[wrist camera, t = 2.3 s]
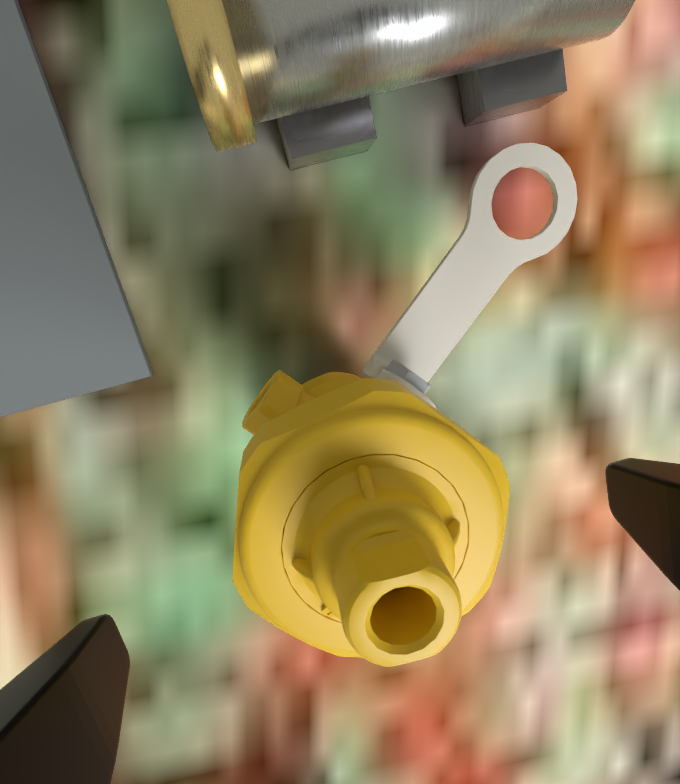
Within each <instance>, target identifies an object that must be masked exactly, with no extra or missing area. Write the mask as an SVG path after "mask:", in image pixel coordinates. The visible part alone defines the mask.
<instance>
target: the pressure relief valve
mask: <svg viewBox="0 0 680 784" xmlns="http://www.w3.org/2000/svg"><path fill="white" fill-rule="evenodd" d="M519 167H524V168H532V169H534V170H536V171H537V172H539V173H541V174H542V175H543V176H544V177H545V178H546V180H547V181H548V183H549V184H550V186H551V190H552V194H553V197H554V199H553V211H552V213H551V216H550V218H549V220H548V223H547V224H546V225H545V227H544V228H543V229H542V230H541V231H540V232H539V233H538V234H536V235H534V236H533V237H531V238H529V239H525V240H517V239H514V238H511V237H508V236H507V235H505V234H504V233H503V232H502V231H501V230H500V229H498V227H497V225H496V223H495V221H494V219H493V216H492V207H491V202H492V197H493V193H494V189H495V187H496V186H497V184H498V183H499V181H500V179H501V178H502V177H503V176H504V175H505V174H507V173H508V172H509V171H510V170H512V169H516V168H519ZM576 204H577V191H576V182H575V180H574V177H573V174H572V172H571V169H570V167H569V166H568V165H567V163H566V162H565V161H564V159H563V158H562V157H561V155H559V154H558V153H556V152H555V151H553V150H552V149H550V148H549V147H547V146H543V145H539V144H536V143H522V144H516V145H513V146H511V147H508V148H506V149H503V150H501V151H499V152H498V153H497V154H496V155H494V156H493V157H492V158H490V159H489V160H488V161H487V162H486V163H485V164H484V166H483V167H482V168H481V170H480V171H479V172H478V174H477V175H476V177H475V180H474V183H473V185H472V188H471V190H470V196H469V204H468V214H467V220H466V223H465V227H464V229H463V231H462V233H461V234H460V236H459V238H458V239H457V241H456V242H455V243H454V245H453V246H452V247H451V249H450V250H449V251H448V253H447V254H446V256H445V257H444V258H443V260H442V261H441V262H440V264H439V265H438V266H437V268H436V269H435V271H434V272H433V273H432V275H431V276H430V277H429V279H428V280H427V282H426V283H425V284H424V286H423V287H422V288H421V290H420V291H419V292H418V294H417V295H416V297H415V298H414V299H413V301H412V302H411V303H410V305H409V306H408V307H407V309H406V310H405V312H404V313H403V314H402V316H401V317H400V318H399V320H398V321H397V322H396V324H395V325H394V327H393V328H392V329H391V331H390V332H389V333H388V335H387V336H386V338H385V339H384V340H383V342H382V343H381V344H380V346H379V347H378V348H377V350H376V351H375V353H374V354H373V355H372V357H371V358H370V359H369V361H368V362H367V363H366V365H365V367H364V369H363V372H364V373H365V374H366V375H368V376H371V377H373V378H362V379H361V378H359V377H358V376H356V375H355V374H350V373H345V372H328V373H325V374H323V375H321V376H319V377H316V378H313V379H311V380H309V381H307V382H306V383H303V384H300V383H299V382H297V381H296V380H294V379H293V378H291V377H290V376H288V375H287V374H285V373H284V372H282V371H281V370H278V371H277V372H275V373H274V374H273V375H272V377H271V378H270V379H269V380H268V381H267V383H266V384H265V385H264V387H263V388H262V389H261V391H260V392H259V394H258V395H257V397H256V398H255V400H254V401H253V403H252V405H251V406H250V408H249V410H248V411H247V413H246V415H245V417H244V420H243V422H242V424H243V428H244V429H246V430H247V431H249V432H251V433H252V434H254V436H253V437H252V439H251V440H250V442H249V443H248V445H247V447H246V448H245V450H244V452H243V457H242V463H241V468H240V475H239V488H238V502H237V516H236V531H235V547H234V564H233V583H234V585H235V586H236V588H237V590H238V592H239V593H240V595H241V597H242V599H243V600H244V602H245V604H246V605H247V607H248V608H249V609H250V610H252V611H253V612H255V613H256V614H258V615H259V616H261V617H262V618H264V619H265V620H267V621H268V622H270V623H271V624H273V625H274V626H276V627H278V628H279V629H281V630H283V631H284V632H286V633H288V634H290V635H292V636H293V637H295V638H297V639H299V640H301V641H303V642H305V643H307V644H309V645H311V646H314V647H316V648H319V649H321V650H323V651H326V652H329V653H332V654H334V655H337V656H340V657H363V658H364V659H366V660H368V661H370V662H371V663H374V664H377V665H380V666H384V667H389V666H397V665H401V664H406V663H409V662H413V661H417V660H420V659H424V658H427V657H431V656H433V655H435V654H437V653H439V652H440V651H441V650H442V649H443V648H444V647H445V646H446V645H447V644H448V643H449V642H450V640H451V639H452V637H453V636H454V634H455V632H456V630H457V628H458V626H459V623H460V620H461V616H463V615H464V614H466V613H467V612H469V611H470V610H471V609H472V608H473V607H474V606H475V605H476V604H477V602H478V601H479V600H480V599H481V598H482V597H483V595H484V594H485V593H486V591H487V590H488V589H489V587H490V585H491V583H492V580H493V577H494V573H495V570H496V567H497V563H498V559H499V555H500V551H501V547H502V542H503V537H504V532H505V525H506V519H507V511H508V503H509V492H510V484H509V481H508V477H507V474H506V472H505V469H504V467H503V465H502V462H501V460H500V458H499V456H497V455H496V454H495V453H494V452H493V451H491V450H490V449H489V448H488V447H487V446H485V445H484V444H483V443H482V442H481V441H479V440H478V439H477V438H476V437H474V436H473V435H472V434H470V433H469V432H467V431H466V430H465V429H463V428H462V427H461V426H459V425H458V424H456V423H455V422H454V421H452V420H451V419H449V418H448V417H447V416H445V415H444V414H443V413H441V412H440V411H438V410H437V409H436V407H435V405H434V404H433V403H432V401H431V400H430V399H429V398H428V397H427V396H426V395H425V394H426V392H427V391H428V390H429V388H430V387H431V385H430V384H429V383H427V382H428V381H429V380H430V379H431V377H432V376H433V375H434V373H435V372H436V371H437V369H438V368H439V367H440V365H441V364H442V363H443V361H444V360H445V359H446V357H447V356H448V355H449V353H450V352H451V351H452V349H453V348H454V347H455V345H456V344H457V343H458V341H459V340H460V339H461V337H462V336H463V335H464V333H465V332H466V331H467V330H468V328H469V327H470V326H471V324H472V323H473V322H474V320H475V319H476V318H477V316H478V315H479V314H480V312H481V311H482V310H483V308H484V307H485V306H486V304H487V303H488V302H489V300H490V299H491V298H492V296H493V295H494V294H495V292H496V291H497V290H498V288H499V287H500V286H501V284H502V283H503V282H504V281H505V279H506V278H507V277H508V275H509V274H510V273H511V272H512V271H513V270H514V269H515V268H516V267H518V266H519V265H521V264H522V263H524V262H527V261H529V260H532V259H534V258H537V257H539V256H542V255H544V254H546V253H548V252H549V251H550V250H551V249H553V248H554V247H555V246H557V245H558V244H559V243H560V241H561V240H562V239H563V237H564V236H565V235H566V233H567V232H568V230H569V228H570V226H571V223H572V221H573V219H574V216H575V211H576Z"/></svg>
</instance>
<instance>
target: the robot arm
mask: <svg viewBox="0 0 680 784" xmlns="http://www.w3.org/2000/svg"><path fill="white" fill-rule="evenodd" d="M606 483H607V492H608V500H609V507H610V510H611V512H612V514H613V516H614V517H615V519H616V520H617V521H618V522H619V523H620V525H621V526H622V527H623V528H624V529H625V530H626V531H627V533H628V534H629V535H630V536H631V537H632V538H633V539H634V541H635V542H636V543H637V544H638V545H639V546H640V547H641V549H642V550H643V551H644V552H645V553H646V554H647V555H648V557H649V558H650V559H651V560H652V561H653V562H654V563H655V564H656V566H657V567H658V568H659V569H660V570H661V571H662V572H663V574H664V575H665V576H666V577H667V578H668V579H669V580H670V581H671V582H672V583H673V584H674V585H675V586H676V587H677V588H678V589H679V590H680V464H676V463H668V462H659V461H651V460H643V459H635V458H627V459H623V460H620V461H616V462H613V463H610V464H609V465H608V466H607V467H606ZM129 668H130V659H129V654H128V651H127V648H126V646H125V644H124V642H123V639H122V637H121V635H120V633H119V630H118V628H117V626H116V624H115V622H114V620H113V618H112V617H111V616H110V615H107V614H103V615H100V616H96V617H93V618H90V619H86V620H84V621H82V622H81V623H79V624H78V625H77V626H76V627H75V628H73V629H72V630H71V631H70V632H69V633H67V634H66V635H65V636H64V637H63V638H61V639H60V640H59V641H58V642H57V643H55V644H54V645H53V646H52V647H51V648H49V649H48V650H47V651H46V652H45V653H43V654H42V655H41V656H40V657H39V658H38V659H36V660H35V661H34V662H33V663H32V664H30V665H29V666H28V667H27V668H26V669H24V670H23V671H22V672H21V673H20V674H18V675H17V676H16V677H15V678H14V679H12V680H11V681H10V682H9V683H8V684H6V685H5V686H4V687H3V688H2V689H0V784H110V783H111V779H112V774H113V770H114V766H115V761H116V755H117V749H118V743H119V737H120V730H121V723H122V716H123V709H124V703H125V696H126V689H127V682H128V675H129Z"/></svg>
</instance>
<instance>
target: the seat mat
mask: <svg viewBox="0 0 680 784" xmlns="http://www.w3.org/2000/svg"><path fill="white" fill-rule="evenodd" d="M152 375H153V372H152V369H151V366H150V363H149V361H148V358H147V355H146V352H145V350H144V347H143V344H142V341H141V339H140V336H139V333H138V330H137V328H136V325H135V322H134V319H133V317H132V314H131V311H130V308H129V306H128V303H127V300H126V297H125V294H124V292H123V289H122V286H121V283H120V281H119V278H118V275H117V272H116V270H115V267H114V264H113V261H112V259H111V256H110V253H109V250H108V248H107V245H106V242H105V239H104V237H103V234H102V231H101V228H100V226H99V223H98V220H97V217H96V215H95V212H94V209H93V206H92V204H91V201H90V198H89V195H88V193H87V190H86V187H85V184H84V182H83V179H82V176H81V173H80V171H79V168H78V165H77V162H76V160H75V157H74V154H73V151H72V149H71V146H70V143H69V140H68V138H67V135H66V132H65V129H64V127H63V124H62V121H61V118H60V116H59V113H58V110H57V107H56V105H55V102H54V99H53V96H52V94H51V91H50V88H49V85H48V83H47V80H46V77H45V74H44V72H43V69H42V66H41V63H40V61H39V58H38V55H37V52H36V50H35V47H34V44H33V41H32V39H31V36H30V33H29V30H28V28H27V25H26V22H25V19H24V17H23V14H22V11H21V8H20V6H19V3H18V0H0V417H2V416H5V415H9V414H13V413H16V412H20V411H24V410H28V409H31V408H35V407H39V406H42V405H46V404H50V403H53V402H57V401H61V400H65V399H68V398H72V397H76V396H79V395H83V394H87V393H91V392H94V391H98V390H102V389H105V388H109V387H113V386H116V385H120V384H124V383H128V382H131V381H135V380H139V379H142V378H146V377H150V376H152Z"/></svg>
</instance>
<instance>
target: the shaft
mask: <svg viewBox="0 0 680 784" xmlns="http://www.w3.org/2000/svg"><path fill="white" fill-rule="evenodd" d="M634 1H635V0H167V4H168V7H169V10H170V14H171V17H172V21H173V24H174V27H175V31H176V34H177V37H178V41H179V44H180V47H181V51H182V54H183V57H184V60H185V63H186V67H187V70H188V73H189V76H190V79H191V82H192V85H193V89H194V92H195V95H196V98H197V101H198V104H199V107H200V110H201V113H202V116H203V119H204V121H205V124H206V127H207V130H208V133H209V135H210V138H211V141H212V143H213V146H214V148H215V150H216V152H220V151H224V150H228V149H232V148H236V147H240V146H244V145H248V144H252V143H256V142H257V138H256V133H255V128H254V124H255V123H259V122H263V121H268V120H272V119H276V118H277V122H278V126H279V130H280V134H281V137H282V141H283V145H284V149H285V153H286V157H287V161H288V165H289V169H290V170H293V169H297V168H301V167H305V166H309V165H313V164H317V163H321V162H325V161H329V160H333V159H337V158H341V157H345V156H349V155H353V154H357V153H361V152H365V151H368V149H369V148H370V147H371V145H372V144H373V143H374V141H375V140H376V139H377V135H376V131H375V126H374V121H373V116H372V112H371V107H370V102H369V97H368V96H370V95H374V94H379V93H383V92H387V91H391V90H395V89H399V88H403V87H407V86H411V85H416V84H420V83H424V82H428V81H432V80H436V79H440V78H444V77H448V76H453V75H457V80H458V86H459V92H460V98H461V104H462V110H463V116H464V122H465V126H469V125H473V124H477V123H481V122H485V121H489V120H493V119H497V118H501V117H505V116H509V115H513V114H517V113H521V112H525V111H529V110H533V109H537V108H540V107H542V106H543V105H545V104H546V103H548V102H550V101H551V100H553V99H555V98H556V97H558V96H559V95H561V94H563V93H564V92H566V91H567V85H566V77H565V68H564V59H563V50H562V49H564V48H568V47H572V46H576V45H580V44H584V43H588V42H592V41H596V40H600V39H603V38H605V37H607V36H609V35H610V34H612V33H613V32H614V31H615V30H616V29H617V28H618V27H619V26H620V25H621V23H622V22H623V21H624V19H625V18H626V16H627V14H628V13H629V11H630V9H631V7H632V5H633V3H634Z"/></svg>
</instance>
